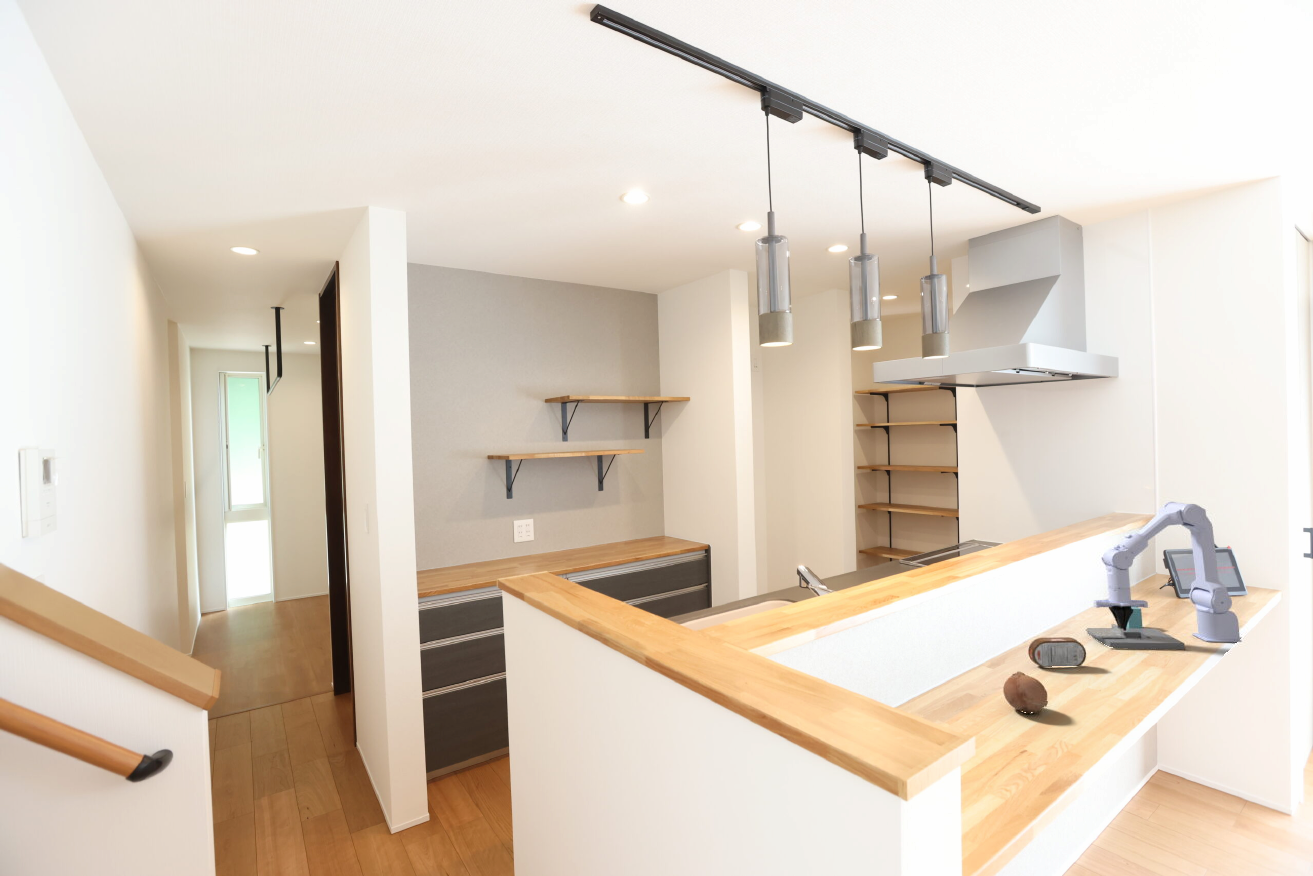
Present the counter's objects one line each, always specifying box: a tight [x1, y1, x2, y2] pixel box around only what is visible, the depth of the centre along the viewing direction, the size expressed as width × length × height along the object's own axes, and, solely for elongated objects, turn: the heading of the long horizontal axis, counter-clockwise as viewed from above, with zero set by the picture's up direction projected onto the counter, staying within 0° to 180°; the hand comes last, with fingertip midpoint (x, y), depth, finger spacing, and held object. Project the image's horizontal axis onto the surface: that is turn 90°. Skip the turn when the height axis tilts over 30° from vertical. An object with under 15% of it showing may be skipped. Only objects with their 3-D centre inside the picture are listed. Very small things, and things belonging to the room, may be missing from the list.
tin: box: [1027, 636, 1087, 668], centre depth 183 cm, size 15×3×8 cm, turn 84°
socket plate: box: [1086, 627, 1186, 650], centre depth 202 cm, size 20×16×2 cm
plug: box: [1127, 607, 1144, 628], centre depth 216 cm, size 4×4×7 cm
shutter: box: [1085, 623, 1126, 638], centre depth 203 cm, size 8×8×2 cm
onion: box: [1003, 671, 1049, 714], centre depth 155 cm, size 10×9×10 cm
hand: (1122, 629), depth 202 cm, fingers closed
